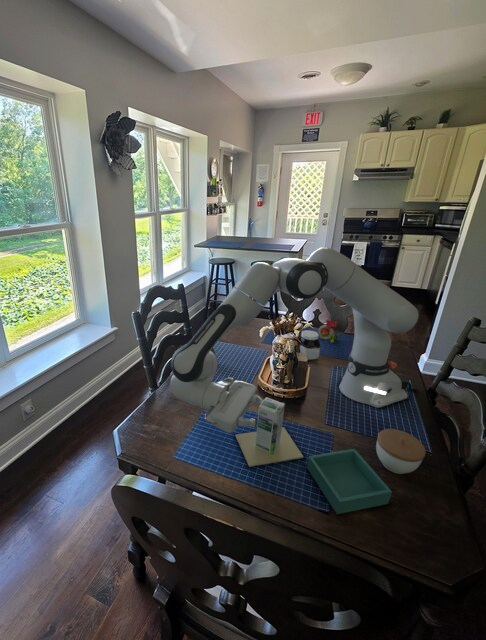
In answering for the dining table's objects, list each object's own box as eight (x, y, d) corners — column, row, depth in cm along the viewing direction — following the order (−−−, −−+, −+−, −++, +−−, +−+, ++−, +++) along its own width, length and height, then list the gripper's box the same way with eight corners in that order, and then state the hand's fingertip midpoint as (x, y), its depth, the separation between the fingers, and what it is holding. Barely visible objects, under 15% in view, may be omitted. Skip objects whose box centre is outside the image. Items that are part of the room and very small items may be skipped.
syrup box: (254, 447, 93) (257, 406, 88) (262, 434, 98) (266, 395, 92) (273, 455, 90) (278, 414, 85) (280, 442, 95) (285, 402, 89)
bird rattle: (319, 345, 156) (339, 343, 149) (313, 324, 154) (332, 321, 148) (323, 340, 160) (342, 338, 154) (317, 319, 159) (336, 316, 153)
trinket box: (399, 487, 81) (409, 459, 77) (363, 456, 90) (370, 430, 86) (427, 472, 85) (437, 445, 81) (389, 444, 94) (397, 419, 90)
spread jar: (320, 362, 137) (325, 338, 132) (296, 365, 135) (299, 340, 131) (306, 349, 148) (310, 326, 143) (283, 351, 146) (286, 328, 142)
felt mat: (283, 428, 101) (284, 427, 101) (303, 457, 90) (303, 456, 90) (235, 435, 98) (235, 434, 98) (249, 467, 87) (249, 465, 87)
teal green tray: (351, 459, 89) (354, 448, 88) (388, 503, 77) (392, 491, 75) (306, 467, 87) (308, 456, 85) (337, 514, 75) (340, 502, 73)
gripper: (201, 409, 88) (249, 427, 82) (231, 374, 104) (273, 386, 98) (201, 427, 91) (247, 446, 84) (230, 390, 107) (271, 403, 100)
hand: (261, 414), depth 91 cm, fingers open, 8 cm apart
